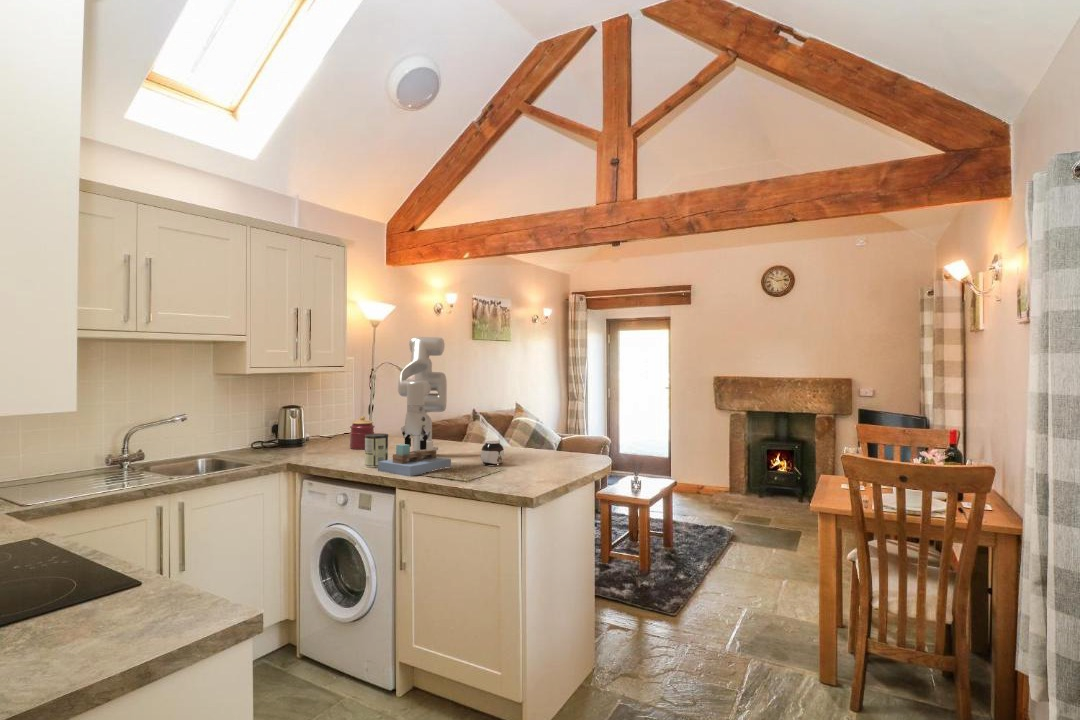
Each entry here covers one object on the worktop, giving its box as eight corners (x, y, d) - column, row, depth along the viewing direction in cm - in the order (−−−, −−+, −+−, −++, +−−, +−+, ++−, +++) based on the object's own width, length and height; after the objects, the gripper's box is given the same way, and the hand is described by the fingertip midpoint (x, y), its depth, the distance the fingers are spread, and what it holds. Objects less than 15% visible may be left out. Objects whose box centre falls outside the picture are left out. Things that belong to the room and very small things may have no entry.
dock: (419, 463, 262) (419, 454, 263) (450, 467, 251) (450, 459, 251) (378, 470, 243) (378, 461, 243) (410, 476, 231) (410, 466, 231)
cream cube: (426, 449, 256) (427, 440, 256) (433, 450, 253) (433, 441, 254) (420, 450, 252) (420, 441, 252) (426, 451, 250) (426, 442, 250)
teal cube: (403, 453, 244) (403, 443, 244) (409, 454, 242) (409, 444, 242) (396, 454, 241) (396, 444, 241) (402, 455, 239) (402, 445, 239)
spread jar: (488, 467, 254) (488, 441, 254) (474, 463, 263) (474, 438, 263) (509, 464, 262) (509, 439, 262) (494, 461, 270) (495, 437, 271)
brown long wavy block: (426, 456, 257) (427, 449, 257) (436, 458, 254) (436, 450, 254) (392, 462, 241) (392, 454, 241) (402, 464, 237) (402, 455, 237)
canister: (345, 449, 306) (345, 416, 306) (356, 446, 318) (357, 414, 319) (367, 450, 303) (368, 417, 304) (378, 446, 316) (378, 415, 316)
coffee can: (375, 463, 262) (375, 432, 263) (392, 464, 258) (393, 434, 258) (359, 466, 253) (359, 435, 253) (377, 468, 249) (377, 436, 249)
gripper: (436, 410, 246) (435, 449, 246) (408, 407, 255) (408, 445, 256) (423, 411, 239) (422, 451, 240) (395, 408, 249) (395, 447, 249)
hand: (415, 448), depth 248 cm, fingers open, 9 cm apart
